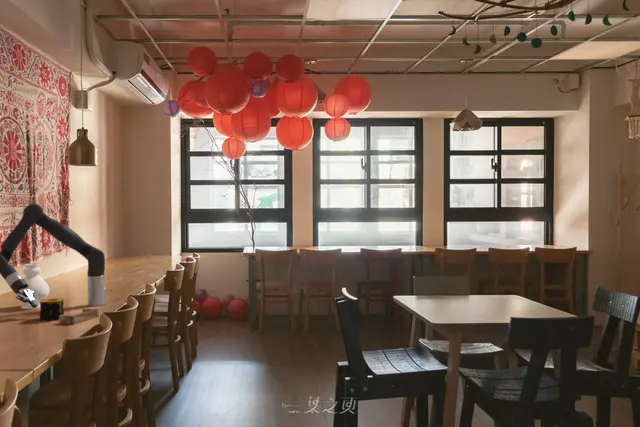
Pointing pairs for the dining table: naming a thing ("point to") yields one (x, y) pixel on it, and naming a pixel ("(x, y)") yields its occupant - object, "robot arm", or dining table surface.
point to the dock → (79, 316)
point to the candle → (51, 308)
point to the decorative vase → (35, 284)
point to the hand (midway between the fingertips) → (35, 306)
